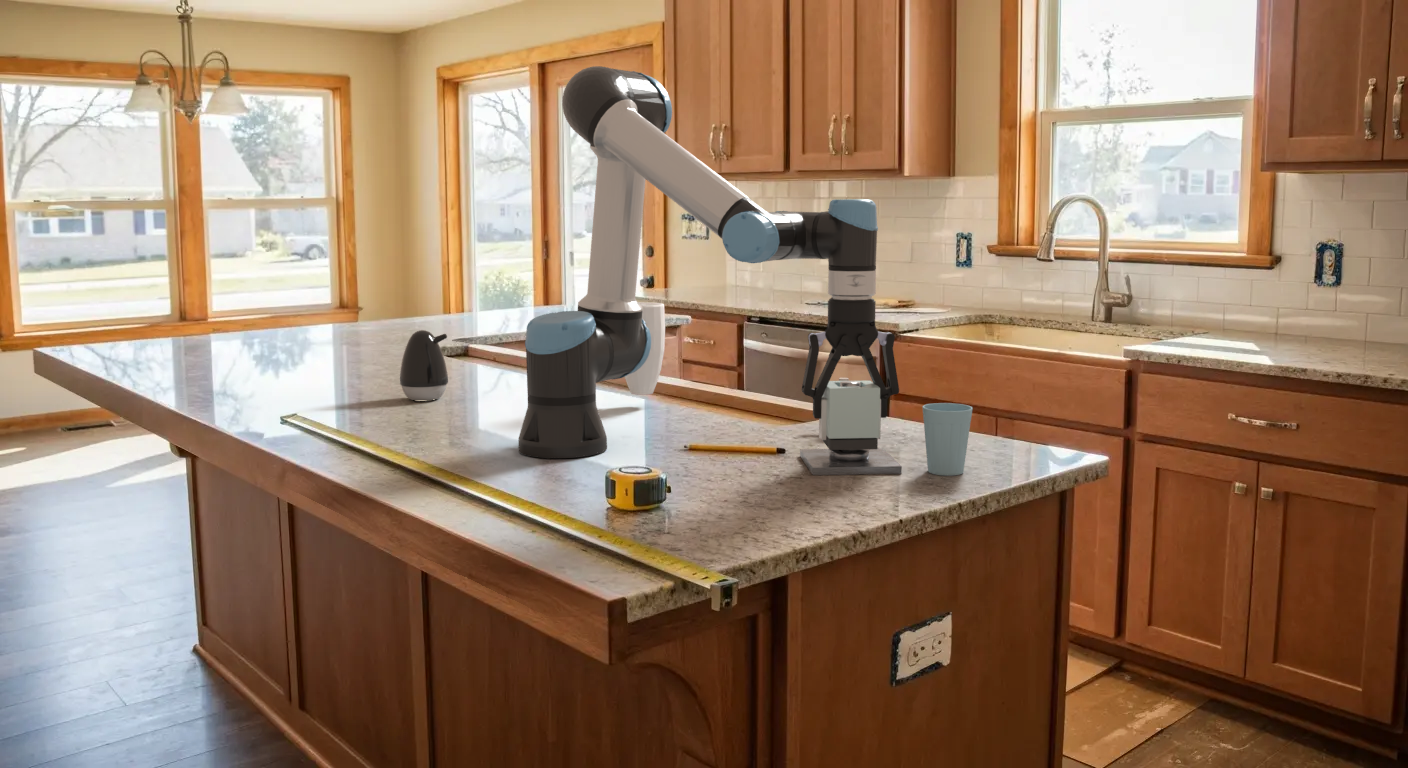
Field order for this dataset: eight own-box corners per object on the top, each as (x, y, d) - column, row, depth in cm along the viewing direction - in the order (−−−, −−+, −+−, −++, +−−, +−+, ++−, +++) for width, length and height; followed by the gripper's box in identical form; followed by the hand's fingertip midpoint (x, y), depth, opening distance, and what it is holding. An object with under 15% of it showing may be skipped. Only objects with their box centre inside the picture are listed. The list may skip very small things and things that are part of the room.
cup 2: (676, 405, 248) (676, 303, 245) (648, 412, 239) (647, 306, 236) (636, 401, 254) (635, 301, 250) (607, 408, 245) (605, 304, 242)
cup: (976, 477, 182) (978, 410, 181) (928, 478, 182) (929, 411, 180) (963, 466, 190) (964, 402, 188) (916, 467, 189) (917, 403, 188)
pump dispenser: (443, 403, 251) (441, 332, 249) (395, 403, 252) (392, 332, 249) (454, 395, 261) (452, 327, 259) (407, 395, 262) (404, 327, 259)
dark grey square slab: (829, 449, 187) (830, 440, 186) (822, 440, 194) (822, 430, 194) (877, 449, 187) (877, 439, 187) (868, 439, 195) (868, 430, 194)
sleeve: (829, 438, 186) (829, 388, 185) (821, 429, 194) (821, 381, 193) (879, 437, 187) (880, 387, 185) (869, 428, 195) (870, 380, 193)
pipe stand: (812, 475, 184) (813, 389, 182) (800, 456, 198) (800, 376, 196) (901, 473, 185) (903, 388, 183) (882, 455, 198) (884, 375, 196)
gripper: (789, 299, 183) (788, 443, 186) (922, 298, 184) (918, 441, 187) (783, 295, 190) (782, 434, 194) (911, 295, 191) (908, 432, 195)
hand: (849, 437), depth 190 cm, fingers open, 8 cm apart
